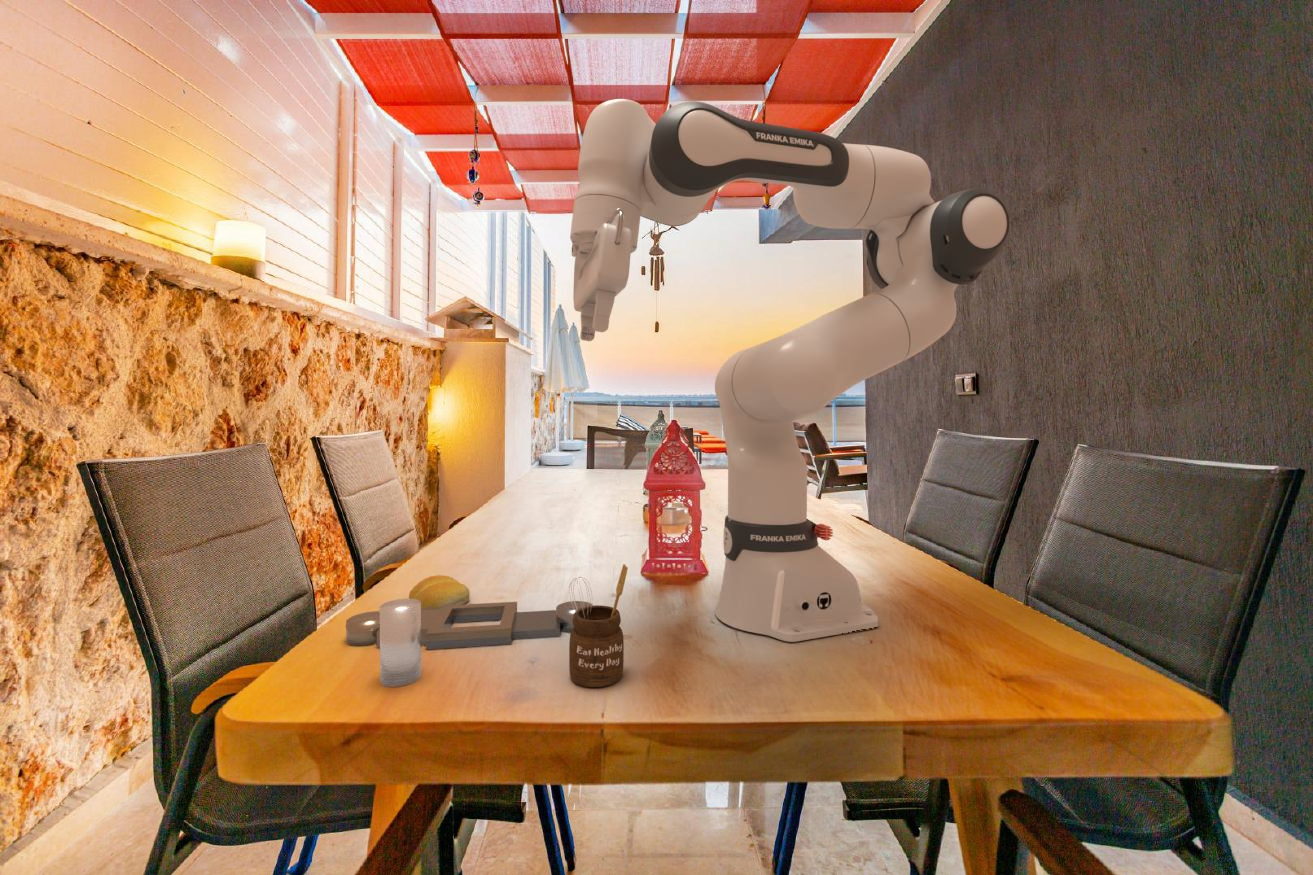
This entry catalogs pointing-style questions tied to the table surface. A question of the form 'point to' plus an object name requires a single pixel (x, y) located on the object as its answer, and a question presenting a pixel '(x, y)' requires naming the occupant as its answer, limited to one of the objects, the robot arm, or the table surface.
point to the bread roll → (439, 592)
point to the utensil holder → (597, 642)
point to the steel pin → (400, 642)
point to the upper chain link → (436, 624)
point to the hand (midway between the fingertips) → (592, 336)
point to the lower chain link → (517, 626)
